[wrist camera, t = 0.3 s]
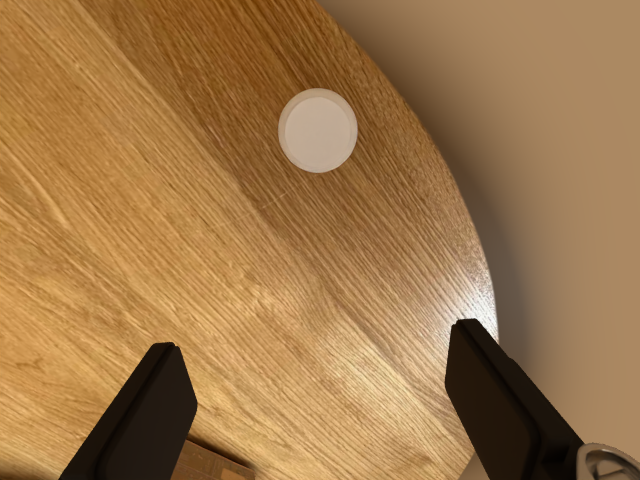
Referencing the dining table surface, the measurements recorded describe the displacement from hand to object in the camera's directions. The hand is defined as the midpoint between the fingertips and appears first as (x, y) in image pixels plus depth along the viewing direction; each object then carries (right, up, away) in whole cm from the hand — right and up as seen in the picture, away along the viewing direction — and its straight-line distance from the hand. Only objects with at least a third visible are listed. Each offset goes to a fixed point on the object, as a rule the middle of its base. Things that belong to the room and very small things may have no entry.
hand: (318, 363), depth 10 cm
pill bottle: (0, +14, +16) cm, 21 cm away
